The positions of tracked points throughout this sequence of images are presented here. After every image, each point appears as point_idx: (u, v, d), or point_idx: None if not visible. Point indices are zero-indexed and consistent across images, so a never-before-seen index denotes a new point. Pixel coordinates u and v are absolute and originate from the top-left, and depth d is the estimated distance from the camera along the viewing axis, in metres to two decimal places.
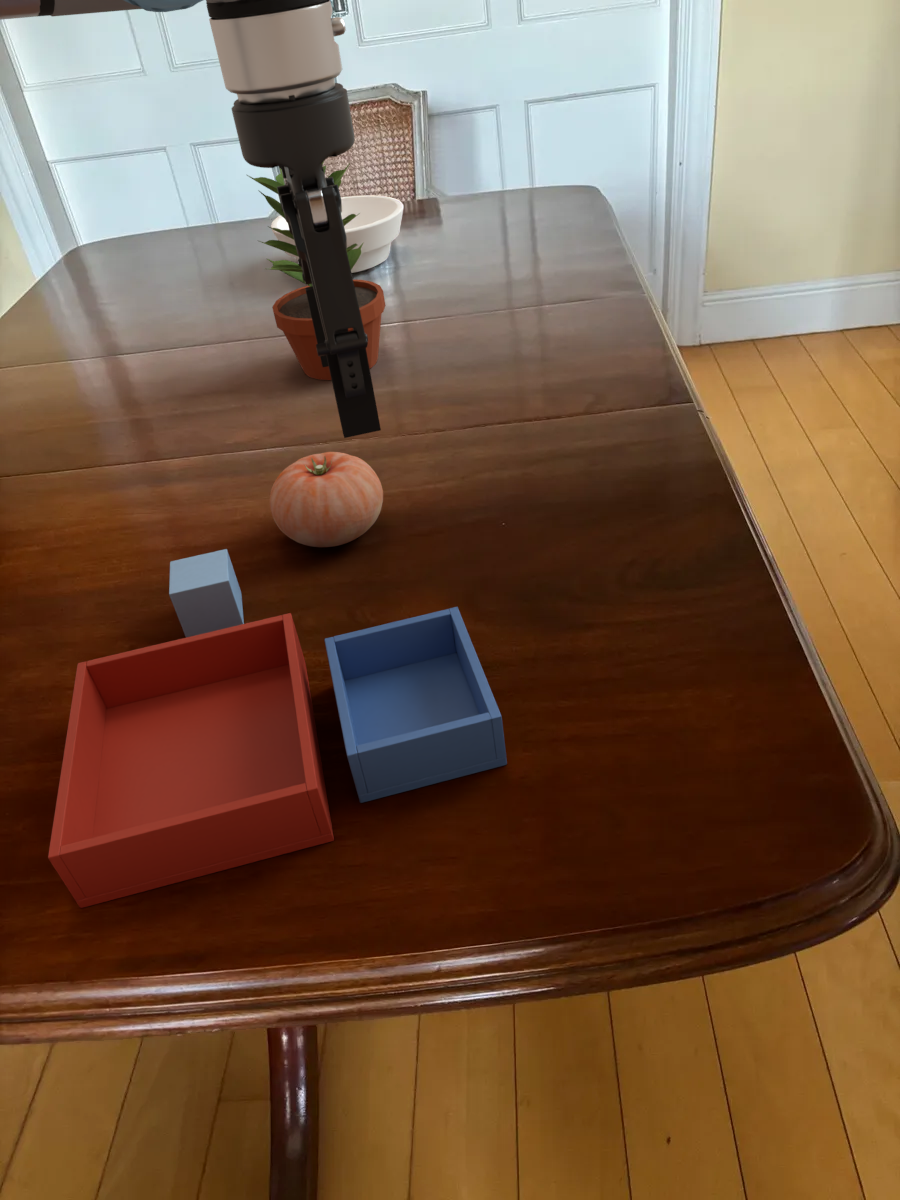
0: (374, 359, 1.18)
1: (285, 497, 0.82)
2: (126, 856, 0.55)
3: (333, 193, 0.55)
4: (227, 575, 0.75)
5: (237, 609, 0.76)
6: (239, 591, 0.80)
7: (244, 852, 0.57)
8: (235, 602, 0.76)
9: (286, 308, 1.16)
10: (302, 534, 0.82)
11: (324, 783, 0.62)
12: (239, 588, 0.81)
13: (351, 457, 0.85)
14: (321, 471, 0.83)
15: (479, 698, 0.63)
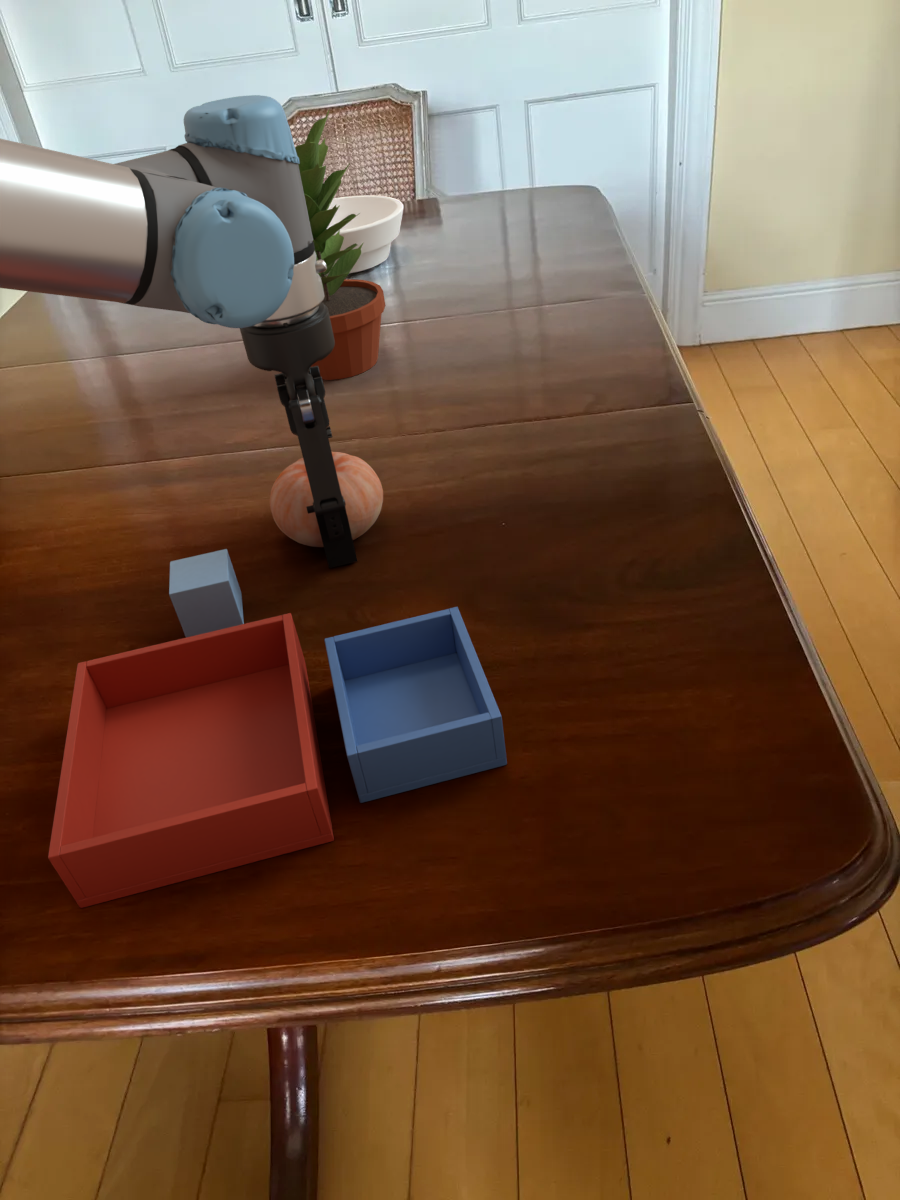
0: (374, 359, 1.18)
1: (285, 497, 0.82)
2: (126, 856, 0.55)
3: (319, 402, 0.72)
4: (227, 575, 0.75)
5: (237, 609, 0.76)
6: (239, 591, 0.80)
7: (244, 852, 0.57)
8: (235, 602, 0.76)
9: None
10: (302, 534, 0.82)
11: (324, 783, 0.62)
12: (239, 588, 0.81)
13: (351, 457, 0.85)
14: None
15: (479, 698, 0.63)
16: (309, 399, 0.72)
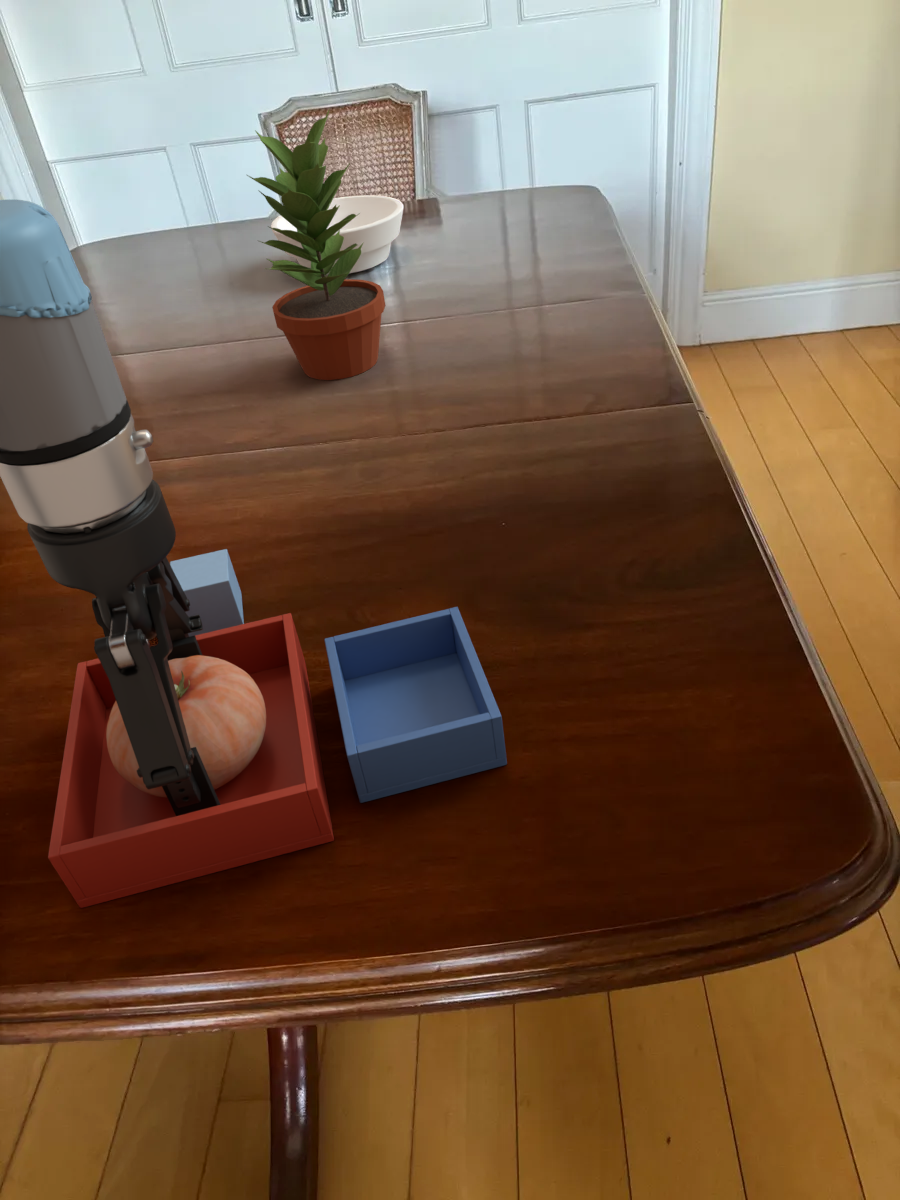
0: (374, 359, 1.18)
1: (120, 736, 0.58)
2: (126, 856, 0.55)
3: (139, 642, 0.49)
4: (227, 575, 0.75)
5: (237, 609, 0.76)
6: (239, 591, 0.80)
7: (244, 852, 0.57)
8: (235, 602, 0.76)
9: (286, 308, 1.16)
10: (145, 787, 0.58)
11: (324, 783, 0.62)
12: (239, 588, 0.81)
13: (220, 670, 0.61)
14: None
15: (479, 698, 0.63)
16: (124, 637, 0.49)
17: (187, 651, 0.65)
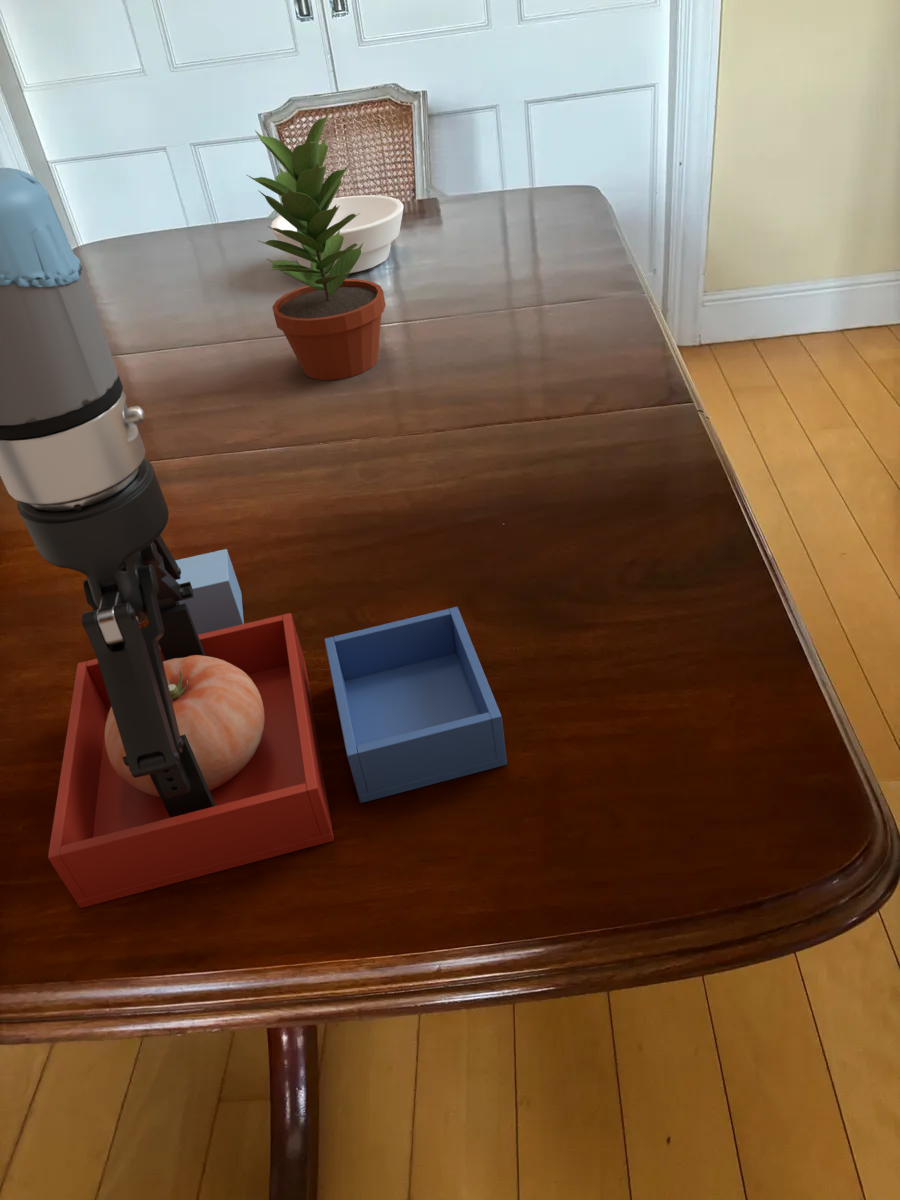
0: (374, 359, 1.18)
1: (118, 736, 0.58)
2: (126, 856, 0.55)
3: (127, 614, 0.48)
4: (227, 575, 0.75)
5: (237, 609, 0.76)
6: (239, 591, 0.80)
7: (244, 852, 0.57)
8: (235, 602, 0.76)
9: (286, 308, 1.16)
10: (143, 787, 0.58)
11: (324, 783, 0.62)
12: (239, 588, 0.81)
13: (218, 669, 0.61)
14: (173, 694, 0.60)
15: (479, 698, 0.63)
16: (113, 610, 0.48)
17: (178, 619, 0.64)
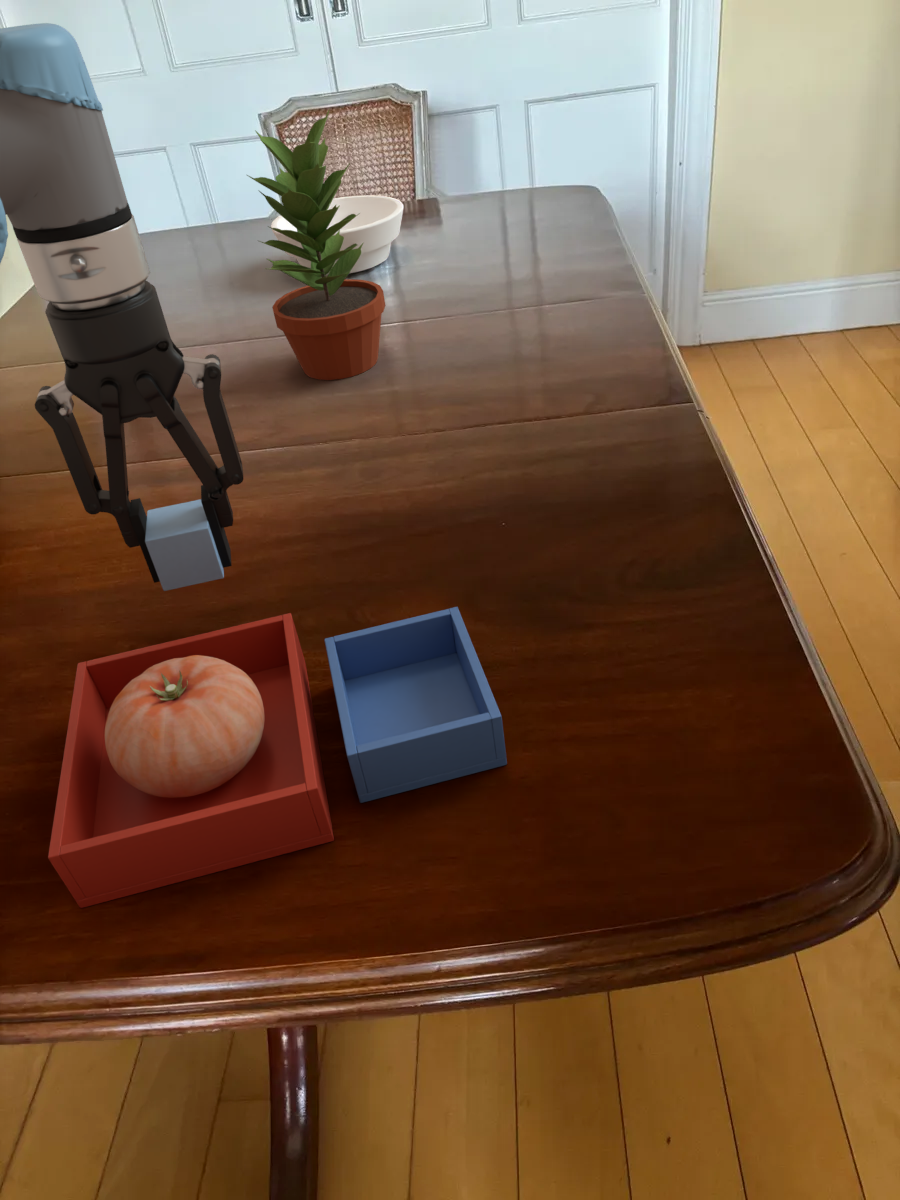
0: (374, 359, 1.18)
1: (118, 736, 0.58)
2: (126, 856, 0.55)
3: (35, 407, 0.64)
4: (206, 523, 0.72)
5: (217, 560, 0.73)
6: None
7: (244, 852, 0.57)
8: (215, 552, 0.73)
9: (286, 308, 1.16)
10: (143, 787, 0.58)
11: (324, 783, 0.62)
12: None
13: (218, 669, 0.61)
14: (173, 694, 0.60)
15: (479, 698, 0.63)
16: (37, 397, 0.64)
17: None
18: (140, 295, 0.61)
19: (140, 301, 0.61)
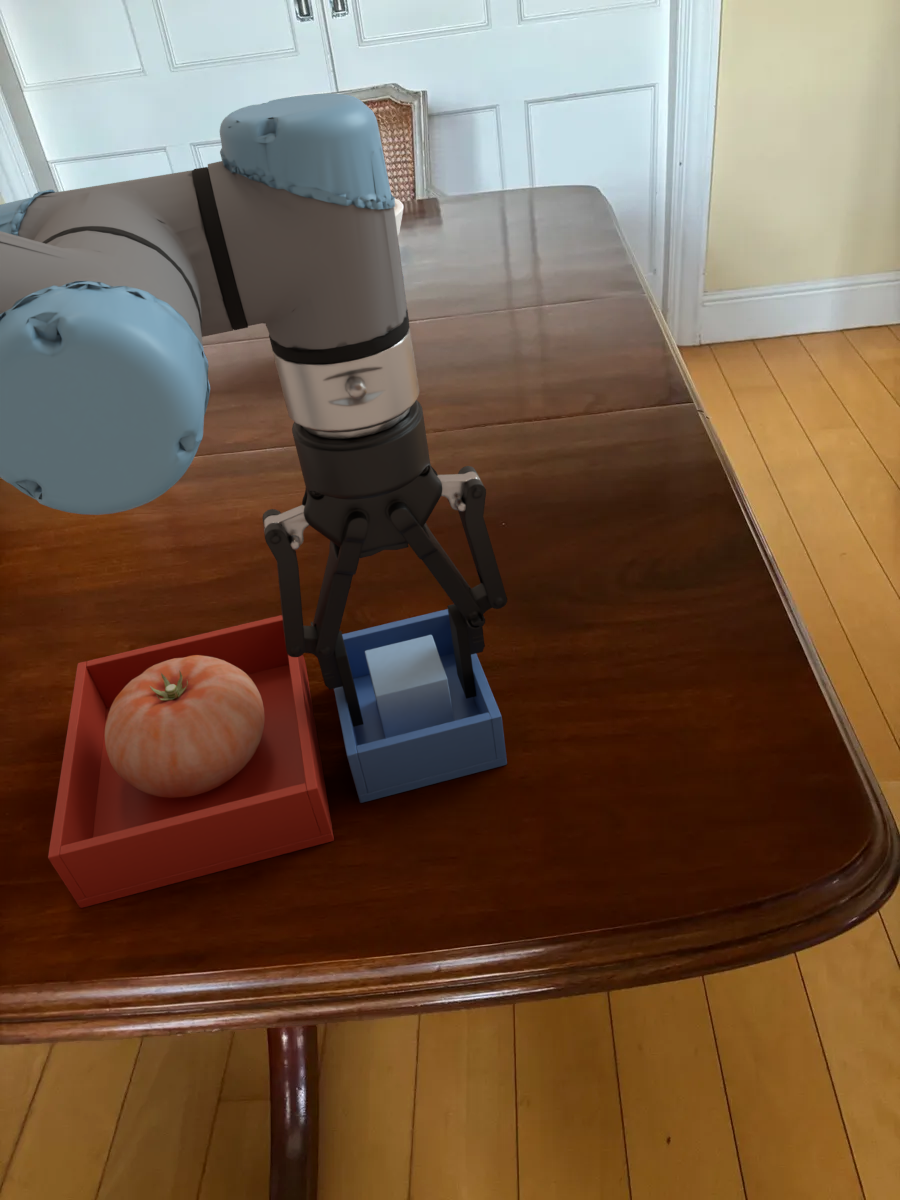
0: None
1: (118, 736, 0.58)
2: (126, 856, 0.55)
3: (265, 537, 0.53)
4: (443, 671, 0.61)
5: (451, 711, 0.63)
6: None
7: (244, 852, 0.57)
8: (450, 703, 0.62)
9: None
10: (143, 787, 0.58)
11: (324, 783, 0.62)
12: None
13: (218, 669, 0.61)
14: (173, 694, 0.60)
15: (479, 698, 0.63)
16: (267, 525, 0.53)
17: (454, 630, 0.61)
18: (412, 416, 0.50)
19: (412, 424, 0.50)
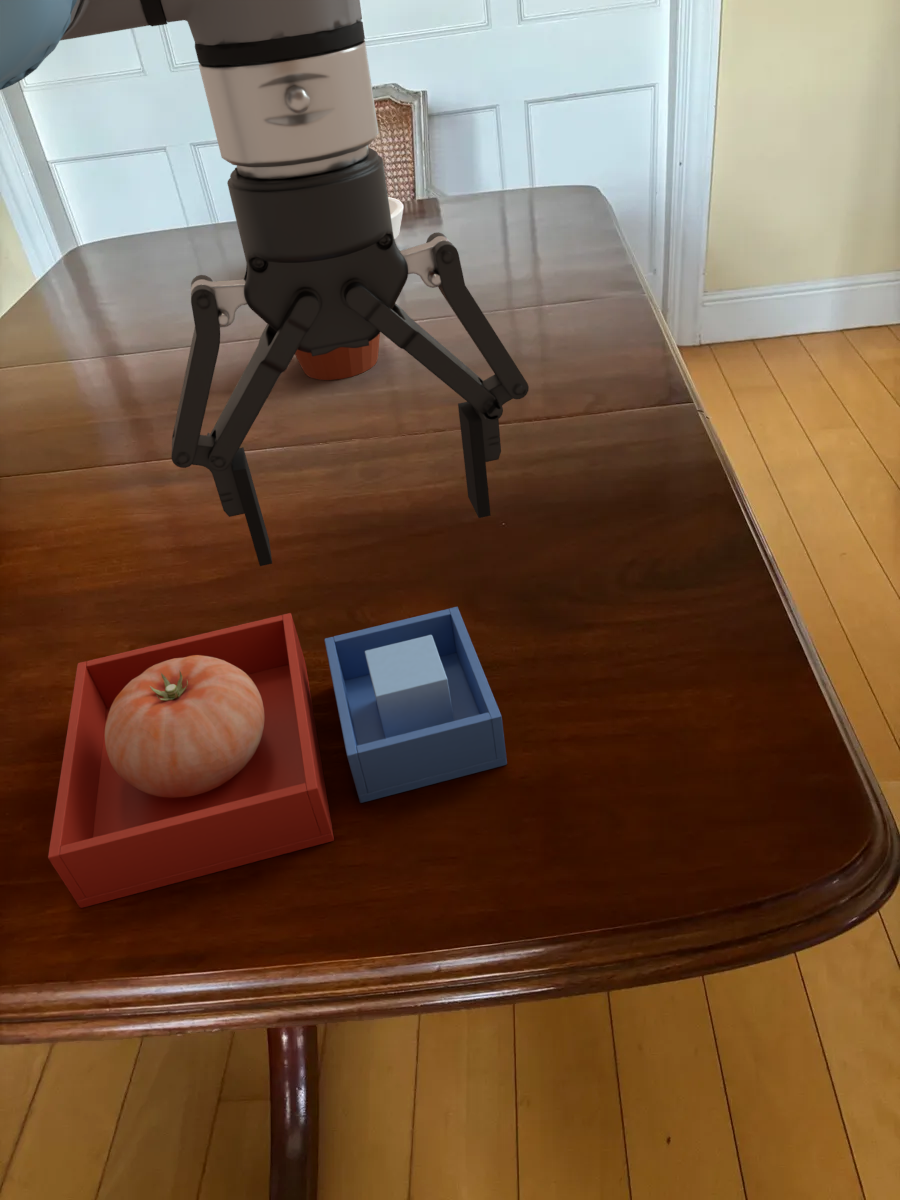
0: (374, 359, 1.18)
1: (118, 736, 0.58)
2: (126, 856, 0.55)
3: (191, 296, 0.44)
4: (443, 671, 0.61)
5: (451, 711, 0.63)
6: None
7: (244, 852, 0.57)
8: (450, 703, 0.62)
9: None
10: (143, 787, 0.58)
11: (324, 783, 0.62)
12: None
13: (218, 669, 0.61)
14: (173, 694, 0.60)
15: (479, 698, 0.63)
16: (197, 286, 0.44)
17: (466, 428, 0.52)
18: (369, 160, 0.42)
19: (369, 168, 0.41)
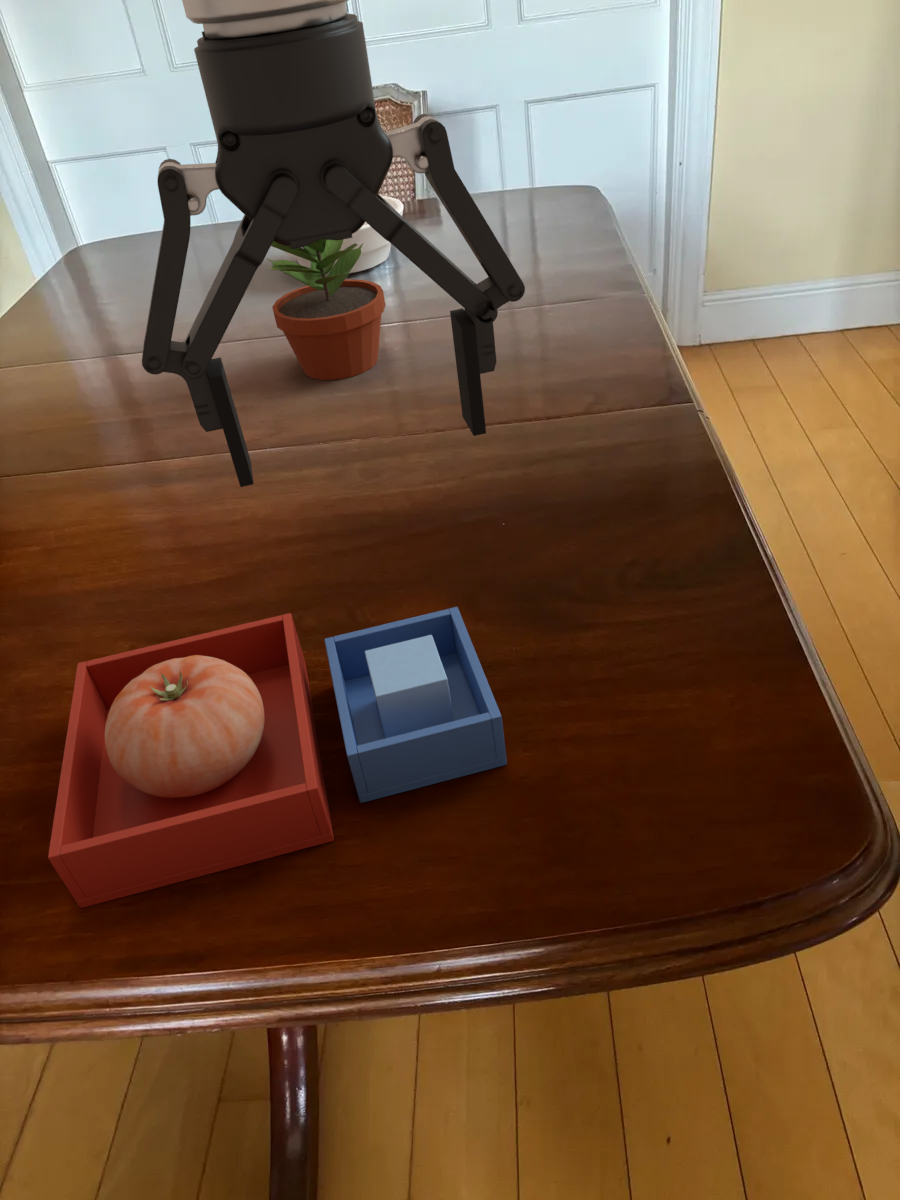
0: (374, 359, 1.18)
1: (118, 736, 0.58)
2: (126, 856, 0.55)
3: (158, 177, 0.41)
4: (443, 671, 0.61)
5: (451, 711, 0.63)
6: None
7: (244, 852, 0.57)
8: (450, 703, 0.62)
9: (286, 308, 1.16)
10: (143, 787, 0.58)
11: (324, 783, 0.62)
12: None
13: (218, 669, 0.61)
14: (173, 694, 0.60)
15: (479, 698, 0.63)
16: (164, 167, 0.41)
17: (459, 334, 0.49)
18: (347, 19, 0.38)
19: (347, 27, 0.38)
